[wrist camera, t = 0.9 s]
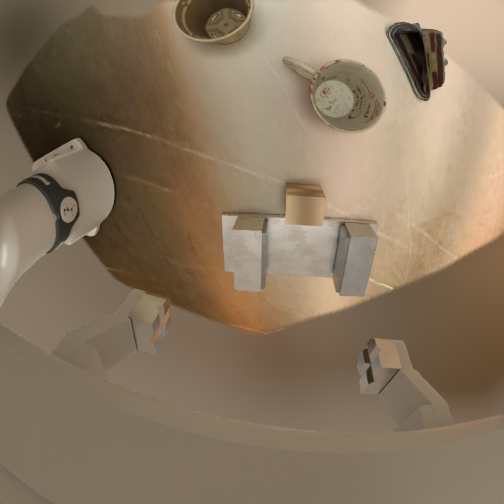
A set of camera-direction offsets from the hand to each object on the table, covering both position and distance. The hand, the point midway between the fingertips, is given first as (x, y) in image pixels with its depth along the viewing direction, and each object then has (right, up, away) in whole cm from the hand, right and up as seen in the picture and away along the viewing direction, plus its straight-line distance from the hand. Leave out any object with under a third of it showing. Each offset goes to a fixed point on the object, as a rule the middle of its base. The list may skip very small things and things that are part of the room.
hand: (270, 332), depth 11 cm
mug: (+9, +25, +22) cm, 35 cm away
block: (+7, +11, +30) cm, 33 cm away
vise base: (+7, +4, +34) cm, 35 cm away
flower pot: (-4, +35, +19) cm, 40 cm away
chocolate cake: (+25, +29, +20) cm, 43 cm away
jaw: (+15, +3, +32) cm, 35 cm away
